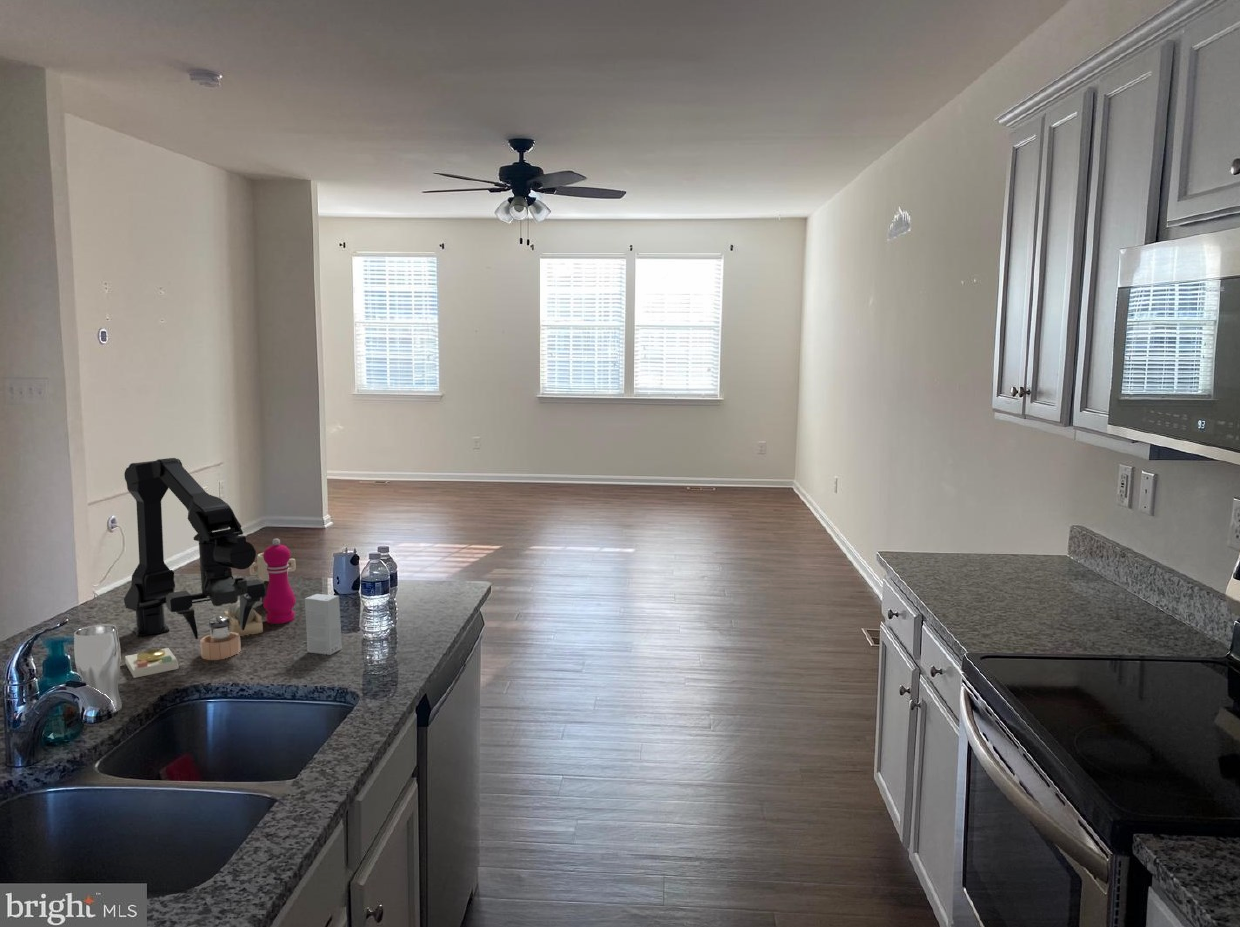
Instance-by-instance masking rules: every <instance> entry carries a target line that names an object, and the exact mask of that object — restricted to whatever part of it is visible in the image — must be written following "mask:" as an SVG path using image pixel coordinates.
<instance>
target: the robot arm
mask: <svg viewBox="0 0 1240 927" xmlns="http://www.w3.org/2000/svg"><path fill="white" fill-rule="evenodd" d="M123 474H124V480H125V482H126V488H127V491H128V492H129V493H130V495H131V496H132V497H133V499H134V500H135V502H136V517H137V518H136V519H137V520H136V523H137V541H138V542H137V543H138V561H139V563H138V564H137V566H136V568H135V570H134V571H133V573H132V575H131V586H130V587H129V589H128V590H127V592H126V593H125V596H124V597H123V602H124V605H125V608H126V609H129V610H131V611H134V612H135V619H136V626H135V627H133V628H132V629H133V631H134V633H135V634H136V636H137V637H144V636H151V635H155V634H159V633H160V634H161V633H166V632H169V631H170V628H169V626H168V625H167V624H166V620H165V619H166V618H165V606H166V608H167V609H168V610H169V611H170V612H171V613H177V615H182V616H183V617H184V618H185V620H186V622H187V624H188V627H189V628H190V632H191V634H192V635H193V638H194V639H195V640H198V639H199V638H198V637H199V634H198V628H197V623H196V617H195V609H194V608H193V604H197V603H204V602H209V601H211V604H212V606H214V607H220V606H223V605H227V604H230V605H231V604H233V603H236V602H237V601H238V600H240V625H241V630H244V629H245V626H246V623H247V620H248V616H249V613H250V611H251V609H252V608H253V606H255V604H256V603H257V602H260V601H262V597H265V596H267V588H266V585H265V584H263V583H264V582H262V581H261V580H259V579H257V578H256V579H251V580H248V579H247V578H246V576H242V577H236V578H234V576H233V571H232V569H237V570H246V569H248V568H250V566H251V565H252V564H253V563H254V562H255V560H256V558H257V556H256V555H257V552H256V551H257V550H256V549H255V547H254V546H253V544H252V543H250V542H248V541H247V536H246V535H244V531H243V530H242V527H243V526H242V525H241V523H240V521H239V520H238V519H237V517H236V515H235V513H234V511H233V509H232V508H231V506H230V504H228V503H227V502H226V501H224V500H223V499H222V498H220V497H219V496H215V495H212V494H209V493H208V492H207V491H206V490H205V489H204V488H203V487H202V486H201V485H200V484H199V483H198V481H196V480H195V478H194V477H193V476H192V475H191V474H190V473H189V472H188V471H187V469H185V467H184V466H183V462H182V461H181V460H180V459H179V458H176V457H169V458H168V457H167V458H159V459H155V460H151V461H141V462H132V463H130V464H129V465H128V467H126V468H125V470H124V473H123ZM168 490H170V491H171V492H172V493H173V495H174V496H176V498H177V499H178V500H179V502H180V503H182V505H183V506H184V507H185V508H186V510H187V512H188V513H187V520H188V522H189V524H190V525H191V526H192V528H193V530H194V531H195V532H196V535H194V536H193V540H194V541H195V542H198V548H199V550H198V551H199V552H198V553H199V566H200V567H199V571H200V580H201V583H200V584H201V586H200V587H201V592H198V593H193V594H192V593H190V592H188V591H187V590H181V591H176V592H175V589H176V583H175V571H174V570H173V569H170V568H169V566H168V565H166V563H165V558H164V555H165V554H164V538H163V537H164V535H163V514H162V512H163V510H162V500H163V498H164V497H165V495H166V493H167V491H168ZM238 598H239V599H238ZM164 604H165V606H164Z"/></svg>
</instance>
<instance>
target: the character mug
mask: <svg viewBox="0 0 1240 927" xmlns="http://www.w3.org/2000/svg"><path fill="white" fill-rule="evenodd" d="M256 555H257V556H256V560H257V561H254V562H253V564H252V565H251V566H250V567H249V575H250V576H257V577H258V578H259V579H260V580H259V581H263V582H262V583H263V584H265V585H266V588H268V584H269V573H268V572H267V571H266V570H267V568H266V566H267V565H268V564H267V563H266V562H265V561H264V558H263V555H264V552H261V553H258V554H256ZM289 563H291V567H288V568H289V570H288V571H287V576H288V574H289V572H295V571H296V569H297V568H296V567H297V565H296V559H295V558H290V559H289V561H288V562H287V564H289ZM254 567H257V571H255V570H254V569H255V568H254ZM260 601H261V603H263V601H264V597H261V600H260Z"/></svg>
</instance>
